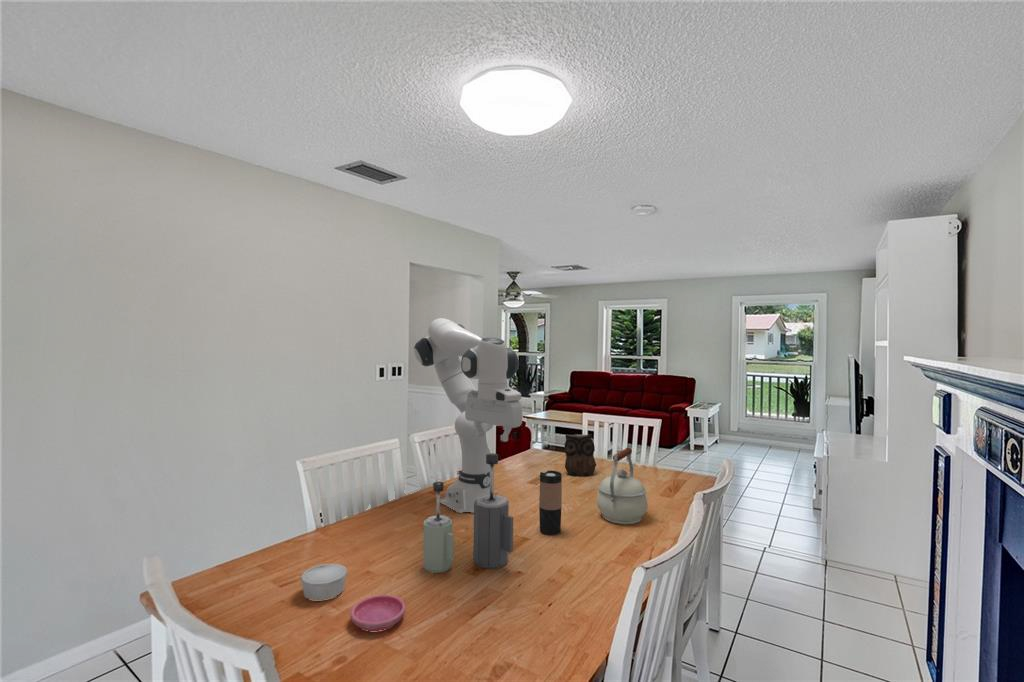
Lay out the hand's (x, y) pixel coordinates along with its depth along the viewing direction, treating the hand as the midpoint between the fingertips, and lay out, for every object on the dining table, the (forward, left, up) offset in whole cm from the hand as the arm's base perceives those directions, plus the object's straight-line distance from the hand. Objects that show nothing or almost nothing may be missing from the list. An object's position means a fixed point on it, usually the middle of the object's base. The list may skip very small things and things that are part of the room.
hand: (492, 438), depth 147 cm
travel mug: (0, +30, -37) cm, 47 cm away
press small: (-8, -13, -36) cm, 39 cm away
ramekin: (-20, -42, -37) cm, 59 cm away
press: (+1, 0, -36) cm, 36 cm away
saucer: (+1, -40, -37) cm, 54 cm away
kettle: (+12, +60, -37) cm, 71 cm away
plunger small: (-9, -13, -22) cm, 27 cm away
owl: (-31, +98, -37) cm, 109 cm away
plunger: (0, 0, -18) cm, 18 cm away
